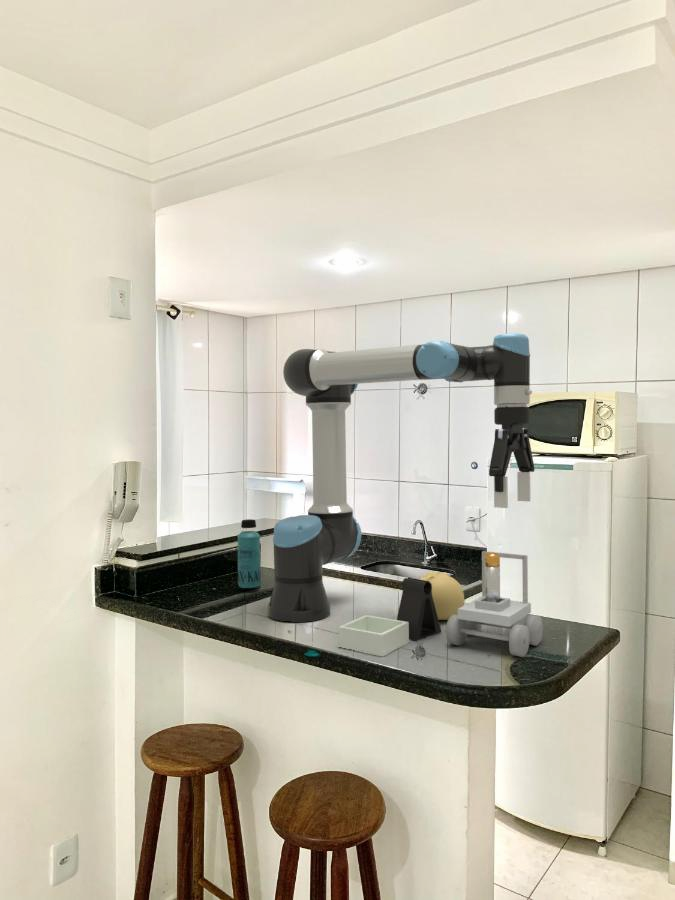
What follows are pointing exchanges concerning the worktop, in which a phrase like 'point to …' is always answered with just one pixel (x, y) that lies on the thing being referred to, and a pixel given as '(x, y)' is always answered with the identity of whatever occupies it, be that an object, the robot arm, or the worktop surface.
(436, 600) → the yellow rounded lump
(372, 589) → the worktop surface
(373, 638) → the tray
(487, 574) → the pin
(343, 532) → the robot arm
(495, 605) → the trolley
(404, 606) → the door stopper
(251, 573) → the beverage bottle
